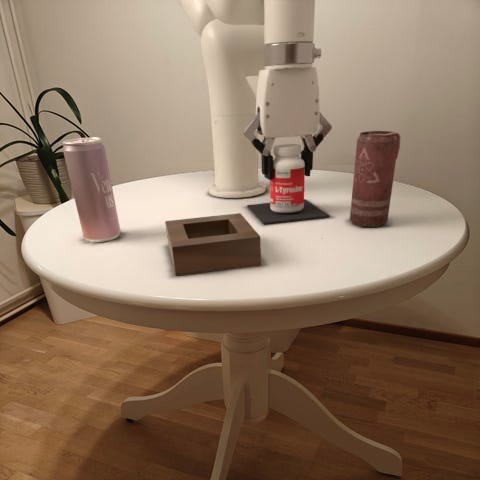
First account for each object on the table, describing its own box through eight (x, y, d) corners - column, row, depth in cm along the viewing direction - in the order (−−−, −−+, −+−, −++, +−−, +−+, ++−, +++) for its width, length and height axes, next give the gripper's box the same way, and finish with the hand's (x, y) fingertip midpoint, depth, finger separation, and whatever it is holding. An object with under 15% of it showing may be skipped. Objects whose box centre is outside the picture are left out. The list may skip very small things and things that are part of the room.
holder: (168, 246, 65) (165, 221, 63) (241, 237, 67) (240, 212, 65) (175, 276, 55) (171, 246, 53) (261, 264, 57) (260, 236, 55)
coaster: (247, 207, 82) (247, 205, 82) (305, 201, 85) (305, 199, 84) (263, 224, 72) (263, 222, 72) (329, 217, 74) (329, 215, 74)
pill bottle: (272, 215, 75) (271, 148, 70) (268, 207, 80) (267, 144, 75) (306, 212, 75) (308, 146, 70) (301, 205, 80) (302, 142, 75)
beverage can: (105, 229, 74) (86, 136, 66) (128, 234, 71) (111, 138, 63) (76, 239, 70) (52, 141, 62) (99, 245, 66) (77, 143, 59)
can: (390, 228, 68) (404, 134, 61) (349, 227, 69) (358, 135, 62) (387, 217, 73) (399, 129, 66) (349, 216, 74) (357, 130, 67)
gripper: (330, 57, 71) (324, 168, 80) (229, 61, 68) (235, 177, 77) (350, 54, 64) (341, 176, 73) (240, 59, 61) (244, 185, 70)
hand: (287, 175), depth 75 cm, fingers closed on pill bottle, 6 cm apart
